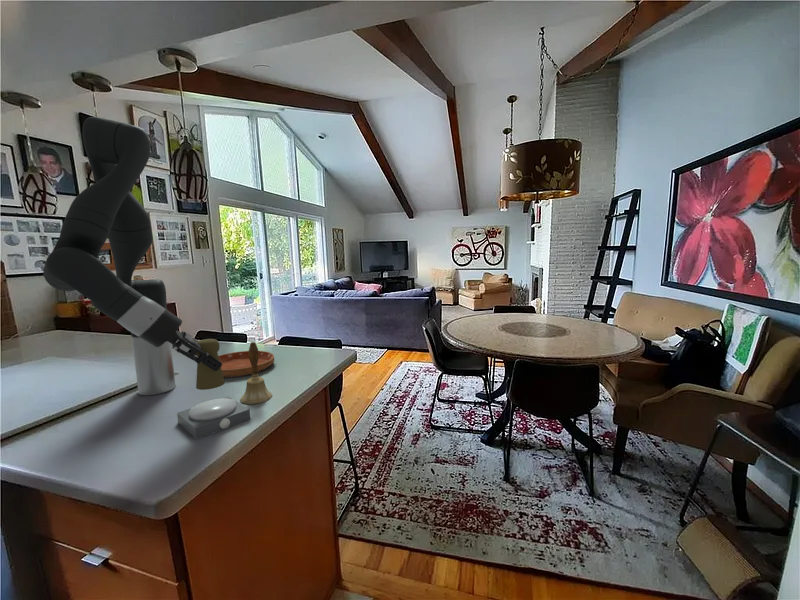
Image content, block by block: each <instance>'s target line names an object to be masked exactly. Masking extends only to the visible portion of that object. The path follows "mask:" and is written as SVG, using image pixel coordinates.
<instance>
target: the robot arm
mask: <svg viewBox="0 0 800 600" xmlns="http://www.w3.org/2000/svg"><path fill="white" fill-rule="evenodd" d="M81 131H82V142H83V147H84V150H85V153H86V156H87V159H88V162H89V165H90V169H91V172H92V174H93V178H94V181H95V182H94V183H93V184H91V185H89V186H88V187H87V188H85V189H83V190H82V191H81V192H80V193H78V195H76V197H75V198H74V199H73V200H72V202H71V204H70V207H69V209H68V210H67V213H66V215H65V217H64V220H63V223H62V225H61V229H60V233H59V237H58V240H57V242H56V243H55V245H54V247H53V249H52V251H51V253H50V254H48V256H47V257H46V260H45V263H44V267H43V271H42V272H43V277H44V280H45V281H46V282H47V284H48V285H50V286H51V287H52V288H54V289H56V290H59V291H62V292H74V291H76V292H78V293H80V294H81V295H83V296H84V297H86V298H87V299H88V300H89V301H90V303H91V305H92V306H93V307H94V308H95V309H96V310H97V311H99V312H101V313H102V314H103V315H105V316H107V317H108V318H110V319H111V320H113V321H115V322H117V323H118V324H119V325H120V326H122V327H123V328H125V329H126V330H127V331H128V332H130V338H131V346H132V352H133V360H134V367H135V375H136V383H137V392H138V395H140V396H153V395H159V394H164V393H166V392H170V391H172V390H173V389H175V388H176V375H175V367H174V360H173V351H172V349H173V350H174V351H176V352H177V353H180V354H181V355H183V356H184V357H186V358H188V359H190V360H192V361H193V362H195V363H196V364H197V363H199V364H200V363H203V364H205V365H206V366H208V367H209V368H211V369H213V370H214V371H217V370H218V369H219V368H220V367H221V366H222V363H221V362H220V361H218V360H217V359H215V358H214V357H212V356H211V355H209V354H208V352H205V351H204V350H202V349H201V345H200V344H198V343H197V342H198V341H199V340H198V339H196V338H194V337H193V336H192V335H191V334H189V333H188V332H187V331H183V330H182V331H179V329H180V327H181V326H182V323H183V320H182V319H181V318H180V317H178V316H177V315H175V314H174V313H172V312H171V311H169V310H168V307H167V306H168V305H167V304H168V303H167V302H168V301H167V291H166V290H167V289H166V286H165V283H164V281H163V280H162V279H159V278H157V279H156V278H155V279H154V278H152V279H149V278H148V279H135V280H134V279H132V278H133V274H134V273H135V270H136V267H138V264H139V263H140V261H141V260H142V259H143V258H144V256H145V255H146V253H147V252H148V250H149V249H150V248H151V245H152V243H153V233H152V225H151V219H150V216H149V214H148V212H147V211H146V209H145V207H143V206H142V204H141V202H139V200H138V199H137V198H136V197H135V195H134V194H133V193H131V190H132V188H133V187H134V185H135V184H136V182H137V181H138V179H139V178H140V176H141V175H142V173H143V171H144V169H145V168H146V165H147V164H148V161H149V159H150V155H151V142H150V138H149V135H148V134H147V132H146V131H145V129H143V128H141V127H140V126H137V125H134V124H130V123H126V122H122V121H119V120H113V119H109V118H105V117H98V116H89V117H87V118H85V120H84V121H83V124H82V130H81ZM107 239H108V243H109V246H110V251H111V254H112V257H113V262H114V269H115V273H114V272H113V271H112V270H111V269H110V268H109V267H107V266H106V265H105V263H103V262H102V261H101V260H99V259H98V258H99V254H100V252H101V250H102V247H104V245H105V243H106V241H107ZM197 352H199V353H201V354H200V355H199V357H198V355H197V354H196V353H197Z"/></svg>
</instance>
